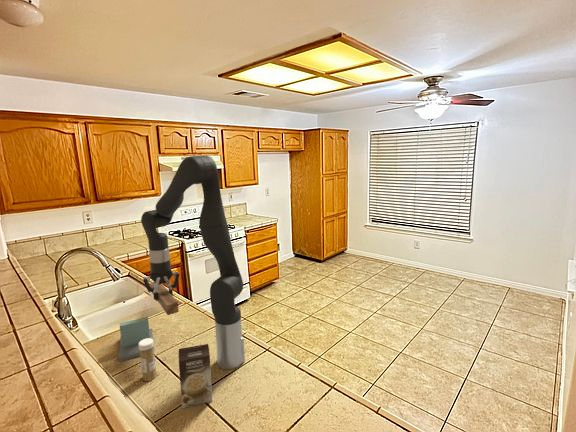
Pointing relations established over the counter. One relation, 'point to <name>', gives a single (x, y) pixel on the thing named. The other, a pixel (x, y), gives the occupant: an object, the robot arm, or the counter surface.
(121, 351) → the ridge stand
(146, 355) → the sprinkles bottle
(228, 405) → the counter surface
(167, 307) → the walnut bar
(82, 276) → the counter surface
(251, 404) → the counter surface
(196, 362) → the coffee box
